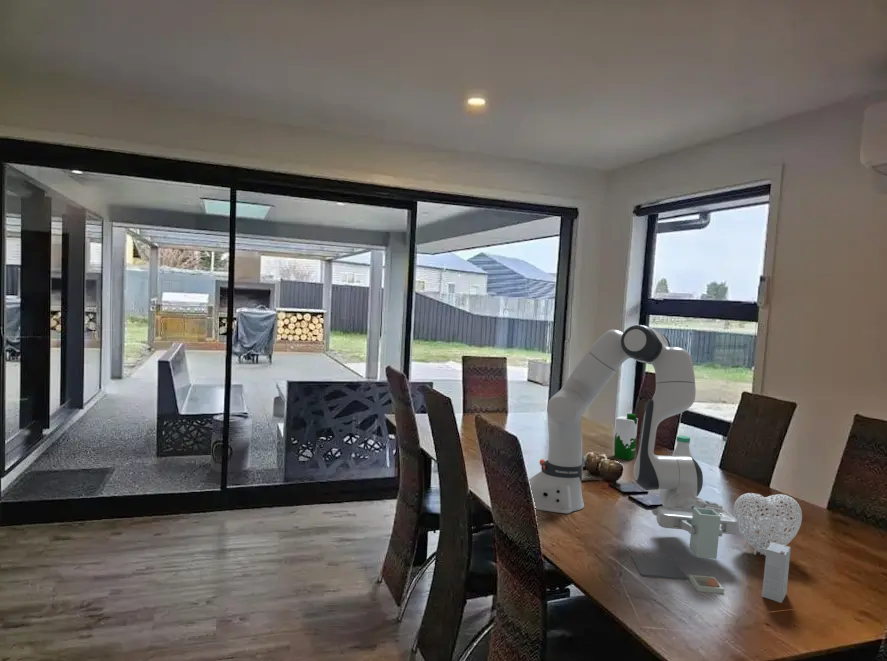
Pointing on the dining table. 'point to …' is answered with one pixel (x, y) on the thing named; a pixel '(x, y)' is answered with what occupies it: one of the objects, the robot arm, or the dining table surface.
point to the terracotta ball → (712, 582)
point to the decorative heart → (767, 520)
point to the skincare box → (776, 572)
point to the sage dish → (705, 588)
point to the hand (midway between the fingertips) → (706, 532)
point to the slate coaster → (658, 567)
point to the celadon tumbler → (705, 533)
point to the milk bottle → (682, 447)
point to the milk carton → (625, 437)
